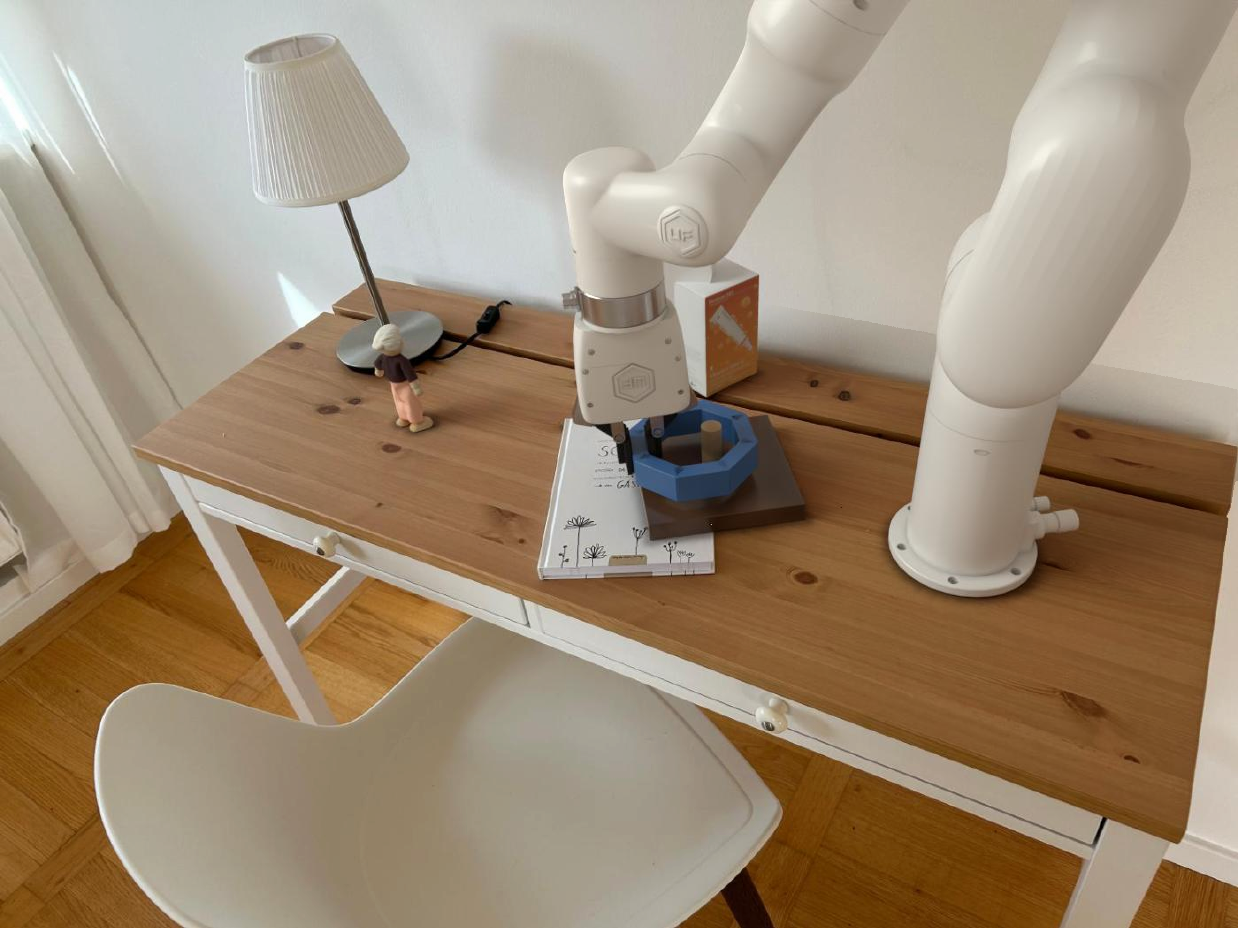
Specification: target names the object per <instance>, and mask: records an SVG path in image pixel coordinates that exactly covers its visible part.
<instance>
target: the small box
mask: <svg viewBox="0 0 1238 928" xmlns="http://www.w3.org/2000/svg"><path fill="white" fill-rule="evenodd" d="M759 297H760V274H759V273H758V272H756V271H753V270H751V269H749V268H747V267H746V266H743V265H741V264H739V263H737V262H734V261H732V260H731V259H729V258H726V257H723V258H722V259H721V260H719V261H718V262H717V264H716V269H715V272H714V274H713V277H712V280H711V282H710V283H697V282H675V284H674V301H675V309H676V311H677V314H678V318H679V321H680V325H681V330H682V335H683V340H684V346H685V353H686V361H687V369H688V378H689V384H690V385H691V387H692V389H693V391H694V392H697V393H698V394H700V395H701V396H703V397H705V398H709V397H711V396H712V395H714V394H716V393H718V392H720V391H722V390H724V389H726V388H728V387H730V386H732V385H734V384H736V383H738V382H741V381H742V380H744V379H746V378H748V377H750V376H753V375H756V373H757V372H758V339H759V335H758V334H759V300H760V299H759Z"/></svg>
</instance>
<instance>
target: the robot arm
mask: <svg viewBox="0 0 1238 928" xmlns="http://www.w3.org/2000/svg"><path fill="white" fill-rule="evenodd" d="M910 1H911V0H754V1H753V2H752V5H751V7H750V10H749V12H748V16H747V21H746V38H745V43H744V46H743V48H742V51H741V52H740V56H739V58H738V60H737V61H736V63H735V66H734V67H733V70H732V71H731V74H730V75H729V77H728V79H727V81H726V82H725V84H724V86H723V88H722V89H721V91H720V93H719V94H718V96H717V97H716V100H715V101H714V103H713V105H712V107H711V109H710V110H709V111H708V113H707V115H706V117H705V118H704V120H703V122H702V124H701V125H700V127H699V128H698V130H697V131H696V133H695V135H694V136H693V138H692V139H691V141H690V142H689V144H688V145H686V146H685V148H684V149H683V150H682V151H681V152H680V154H679V155H678V156H676V158H675V160H674V161H673V162H672V163H670V164H668V165H666V166H664V167H662V168H660V169H658V170H656V169H657V168H656V166H655V164H654V161H653V160H652V158H651V157H650V156H649V155H648V154H647V153H646V152H644V151H642V150H640V149H638V148H634V147H629V146H605V147H604V146H603V147H599V148H594V149H590V150H588V151H585V152H582V153H580V154H578V155H577V156H575V157H573V158H572V159H571V160H570V161H569V162H568V163H567V165H566V166H565V168H564V171H563V174H562V188H563V195H564V197H563V198H564V202H565V210H566V211H565V212H566V218H567V224H568V231H569V238H570V245H571V252H572V258H573V259H572V261H573V266H574V272H575V280H576V286H573V290H570V291H569V292H563V293H561V299H562V306H563V309H564V310H566V309H567V310H568V309H572V310H577V311H576V313H575V314H574V320H573V321H574V322H573V338H572V340H573V359H574V360H573V362H574V364H573V365H574V373H575V382H576V392H577V394H576V397H575V401H574V405H573V408H572V412H571V417H572V418H571V419H572V423H573V424H574V425H577V426H581V427H582V426H583V427H590V428H592V427H593V428H596V429H597V430H598V431H600V432H601V433H603V434H605V435H607V436H608V437H610V438H612V441H613V442H614V443H615V445H616V454H617V461H618V464H619V465H623V464H625V467H626V472H627V473H626V474H627V476H633V475H634V473H635V472H634V463H633V451H632V443H631V438H630V433H629V430H630V429H629V427H628V426H627V424H626V423H625V422H630V421H636V420H637V421H638V420H642V419H644V418H648V420H647V421H646V422H645V425H644V434H645V439H646V443H647V448H648V452H649V455H652V456H654V457H657V458H663V452H662V441H661V436H663V435H664V430H665V428H666V427H667V426H668V425H669V424H670V423H671V422H672V421H673V420H674V419H675V418H676V417H677V416H678V414H680V413H681V414H682V413H684V412H686V411H688V410H690V409H692V408H695V407H696V406H697V405H698V401H699V400H698V398H697V395H696V393H695V390H694V389H692V387H691V385H690V384H689V378H688V369H687V361H686V353H685V346H684V340H683V335H682V330H681V325H680V321H679V318H678V314H677V311H676V309H675V307H674V305H673V303H672V302H671V301H670V300H669V299H668V298H666V290H665V277H664V265H663V262H666V263H670V264H674V265H678V266H683V267H692V268H697V267H705V266H709V265H711V264H714V263H716V262H718V261H719V260H721V259H722V258H723V257H724V258H726V256H727V255H728V254H729V252H730V251H731V250H732V249H733V248H734V245H735V244H736V243H737V241H738V239H739V238H740V236H741V235H742V233H743V232H744V230H745V228H746V226H747V224H748V222H749V220H750V219H751V217H752V215H753V213H754V212H755V210H756V209H757V207H758V206H759V204H760V203H761V201H762V200H763V198H764V196H765V194H766V193H767V191H768V190H769V188H770V187H771V185H772V184H773V183H774V181H775V179H776V178H777V176H778V175H779V173H780V172H781V170H782V169H783V167H784V166H785V164H786V163H787V162H788V160H789V158H790V157H791V155H792V154H793V152H795V149H796V148H797V147H798V145H799V143H801V141H802V139H803V138H804V137H805V135H806V134H807V132H808V131H809V129H811V126H812V125H813V123H814V122H815V121H816V119H818V117H819V115H820V114H821V113H822V111H824V109H825V108H826V106H827V105H828V104H829V103H830V102H831V101H832V100H833V99H834V98H835V97H836V96H838V95H840V94H841V93H843V92H845V91H846V90H847V89H848V88H849V87H850V86H851V84H852V83H853V82H854V80H855V79H856V78H857V77H858V76H859V75H860V73H861V72H862V70H863V69H864V67H865V66H866V65H867V63H868V62H869V60H870V59H871V57H872V56H873V54H874V53H875V51H876V50H877V48H878V47H879V46H880V44H881V43H882V41H883V40H884V39H885V37H886V35H887V34H888V33H889V31H890V29H891V28H892V27H893V25H894V24H895V22H896V21H897V20H898V18H899V16H900V15H901V14H902V12H903V11H904V9H905V8H906V7H907V5H908V4H909V2H910ZM1237 9H1238V0H1073V1H1072V3H1071V5H1070V8H1069V10H1068V12H1067V14H1066V17H1065V19H1064V21H1063V23H1062V26H1061V27H1060V30H1059V31H1058V34H1057V36H1056V38H1055V41H1054V42H1053V45H1052V47H1051V49H1050V51H1049V53H1048V56H1047V57H1046V60H1045V62H1044V65H1043V66H1042V68H1041V71H1040V73H1039V75H1038V77H1037V79H1036V81H1035V83H1034V84H1033V87H1032V88H1031V90H1030V92H1029V94H1028V96H1027V97H1026V99H1025V101H1024V103H1023V105H1022V107H1021V109H1020V111H1019V113H1018V114H1017V117H1016V119H1015V121H1014V124H1013V126H1012V130H1011V135H1010V140H1009V145H1008V149H1007V150H1008V151H1007V159H1006V166H1005V173H1004V176H1003V179H1002V183H1001V186H1000V188H999V190H998V193H997V195H996V197H995V200H994V202H993V205H992V206H991V209H990V210H989V211H987V212H985V213H984V214H982V215H980V216H979V217H978V218H977V219H975V220H974V221H973V222H971V224H970V225H969V226H968V227H967V228H966V229H965V230H964V231H963V233H962V234H961V236H960V237H959V238H958V240H957V241H956V243H955V245H954V247H953V249H952V251H951V254H950V257H949V260H948V262H947V267H946V272H945V280H944V283H943V288H942V294H941V295H942V296H941V304H940V309H939V314H938V319H937V326H936V337H935V338H936V339H935V340H936V343H935V344H936V346H935V353H934V359H933V365H932V371H931V375H930V383H929V388H928V389H929V390H928V396H927V400H926V407H925V411H924V412H925V413H924V417H923V425H922V431H921V438H920V444H919V451H918V455H917V456H918V457H917V463H916V468H915V469H916V470H915V476H914V482H913V487H912V488H913V489H912V495H911V501H910V502H909V503H906V504H905V505H903V506H902V507H901V508H900V509H899V510H897V512H896V513H895V514H894V516H893V517H892V520H891V521H890V524H889V527H888V535H887V542H888V549H889V551H890V554H891V555H892V556H891V557H892V558H893V560H894V561H895V562H896V563H897V565H898V566H899V567H900V569H902V570H903V571H904V573H906V574H907V575H908V576H910V577H911V578H912V579H914V580H916V581H917V582H919V583H920V584H922V585H925V586H926V587H928V588H930V589H933V590H935V591H938V592H942V593H945V594H948V595H954V596H959V597H967V598H968V597H969V598H985V597H994V596H998V595H1002V594H1006V593H1009V592H1010V591H1013V590H1016V589H1017V588H1018V587H1020V586H1021V585H1022V584H1024V583H1025V582H1027V580H1028V579H1029V578H1030V577H1031V576H1032V574H1033V571H1034V569H1035V566H1036V562H1037V558H1038V545H1037V541H1036V540H1041V539H1043V538H1044V537H1045V534H1049V533H1050V534H1051V533H1055V534H1060V533H1068V532H1075V531H1077V530H1079V526H1080V519H1079V515H1078V513H1077V511H1076V510H1075V509H1074V508H1068V509H1063V510H1062V509H1061V510H1055V511H1050V512H1049V513H1041V512H1048V511H1049V510H1050V509H1051V502H1050V499H1049V497H1048V496H1046V495H1042V496H1035V497H1034V495H1035V491H1036V487H1037V483H1038V480H1039V476H1040V472H1041V469H1042V465H1043V460H1044V457H1045V453H1046V449H1047V445H1048V441H1049V437H1050V433H1051V430H1052V427H1053V423H1054V421H1055V419H1056V418H1055V417H1056V414H1057V410H1058V407H1059V403H1060V398H1061V395H1062V392H1063V391H1064V390H1066V389H1067V388H1068V387H1070V386H1071V385H1072V384H1073V383H1074V382H1075V381H1076V380H1077V379H1078V378H1080V376H1081V375H1082V374H1083V373H1084V372H1085V370H1086V369H1087V368H1088V367H1089V365H1090V364H1091V362H1093V360H1094V359H1095V357H1096V355H1097V354H1098V352H1099V351H1100V349H1101V348H1102V346H1103V345H1104V343H1105V342H1106V340H1107V339H1108V337H1109V335H1110V333H1111V332H1112V330H1113V329H1114V327H1115V325H1116V324H1117V322H1118V321H1119V319H1120V317H1121V316H1122V314H1123V313H1124V311H1125V309H1126V307H1127V306H1128V304H1129V303H1130V301H1131V299H1132V298H1133V296H1134V294H1135V293H1136V292H1137V290H1138V288H1139V286H1140V285H1141V283H1142V282H1143V280H1144V278H1145V276H1146V275H1147V273H1148V272H1149V270H1150V269H1151V268H1152V267H1151V266H1152V265H1153V264H1154V262H1155V260H1156V258H1157V257H1158V255H1159V253H1160V252H1161V250H1162V248H1163V247H1164V245H1165V243H1166V241H1167V240H1168V238H1169V236H1170V234H1171V233H1172V230H1173V228H1174V227H1175V225H1176V222H1177V220H1178V219H1179V215H1180V212H1181V210H1182V207H1183V205H1184V203H1185V199H1186V196H1187V192H1188V189H1189V185H1190V178H1191V171H1192V170H1191V168H1192V161H1191V159H1192V158H1191V149H1190V143H1189V140H1188V136H1187V132H1186V129H1185V116H1186V111H1187V109H1188V107H1189V104H1190V101H1191V99H1192V97H1193V95H1194V94H1195V91H1196V89H1197V87H1198V85H1199V83H1200V81H1201V79H1202V77H1203V75H1204V74H1205V72H1206V70H1207V68H1208V67H1209V64H1210V62H1211V60H1212V59H1213V57H1214V55H1215V54H1216V51H1217V49H1218V48H1219V46H1220V44H1221V42H1222V39H1223V38H1224V36H1225V33H1226V32H1227V29H1228V27H1229V25H1230V24H1231V22H1232V19H1233V17H1234V15H1235V13H1236V11H1237Z"/></svg>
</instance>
